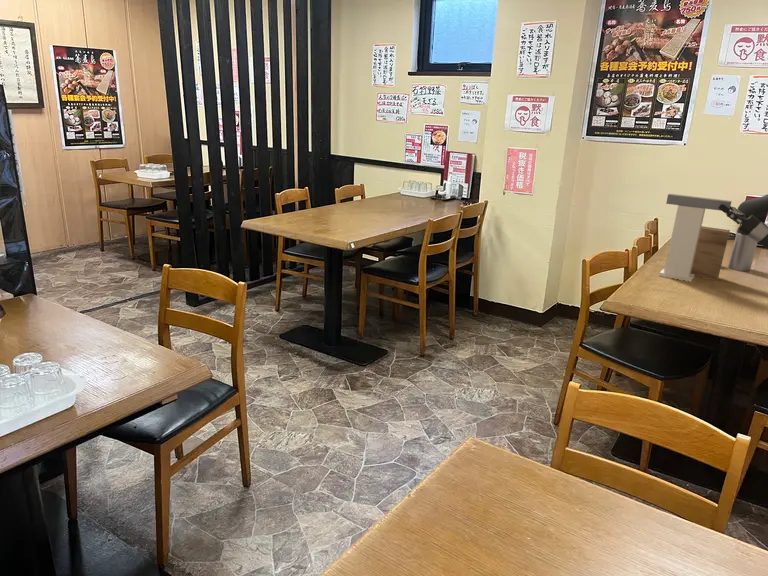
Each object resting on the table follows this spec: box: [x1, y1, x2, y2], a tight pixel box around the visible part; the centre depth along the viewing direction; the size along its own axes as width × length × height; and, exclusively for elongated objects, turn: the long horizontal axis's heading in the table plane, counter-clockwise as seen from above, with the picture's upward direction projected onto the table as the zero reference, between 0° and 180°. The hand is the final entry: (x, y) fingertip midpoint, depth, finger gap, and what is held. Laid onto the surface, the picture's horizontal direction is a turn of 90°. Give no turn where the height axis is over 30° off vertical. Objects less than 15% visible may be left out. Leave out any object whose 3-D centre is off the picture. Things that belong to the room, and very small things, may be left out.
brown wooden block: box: [691, 225, 731, 281], centre depth 255 cm, size 6×18×22 cm, turn 55°
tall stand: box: [659, 205, 706, 283], centre depth 249 cm, size 9×13×32 cm
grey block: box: [665, 193, 733, 212], centre depth 242 cm, size 4×24×4 cm, turn 55°
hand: (720, 204), depth 237 cm, fingers open, 8 cm apart
